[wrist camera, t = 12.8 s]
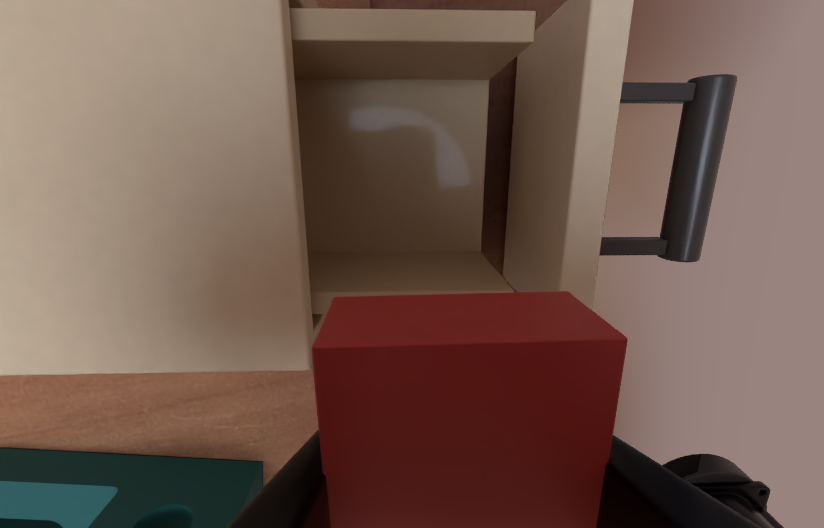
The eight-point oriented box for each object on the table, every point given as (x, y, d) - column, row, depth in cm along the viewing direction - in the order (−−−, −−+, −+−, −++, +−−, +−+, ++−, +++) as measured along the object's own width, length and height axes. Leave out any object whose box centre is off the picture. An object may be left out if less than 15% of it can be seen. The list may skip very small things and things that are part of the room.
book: (568, 290, 7) (628, 337, 5) (542, 530, 9) (583, 633, 7) (333, 296, 7) (310, 347, 5) (350, 540, 9) (337, 647, 7)
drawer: (660, 47, 17) (827, -24, 10) (624, 275, 20) (738, 334, 13) (254, 43, 17) (157, -34, 10) (277, 278, 19) (214, 341, 13)
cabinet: (335, 35, 17) (273, -82, 9) (346, 283, 21) (309, 371, 12) (20, 31, 17) (-359, -94, 8) (82, 285, 20) (-150, 379, 12)
